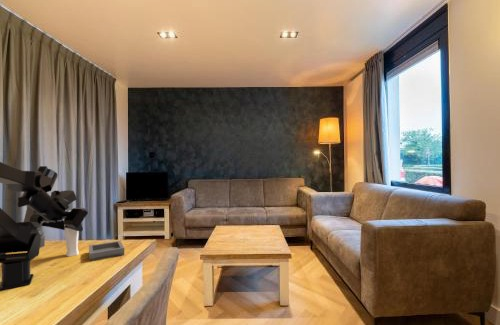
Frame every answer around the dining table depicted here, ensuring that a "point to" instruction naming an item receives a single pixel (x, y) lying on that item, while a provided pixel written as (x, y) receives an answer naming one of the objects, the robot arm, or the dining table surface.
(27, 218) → the candle holder
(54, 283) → the dining table surface
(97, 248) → the gray tray
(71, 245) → the perfume bottle
